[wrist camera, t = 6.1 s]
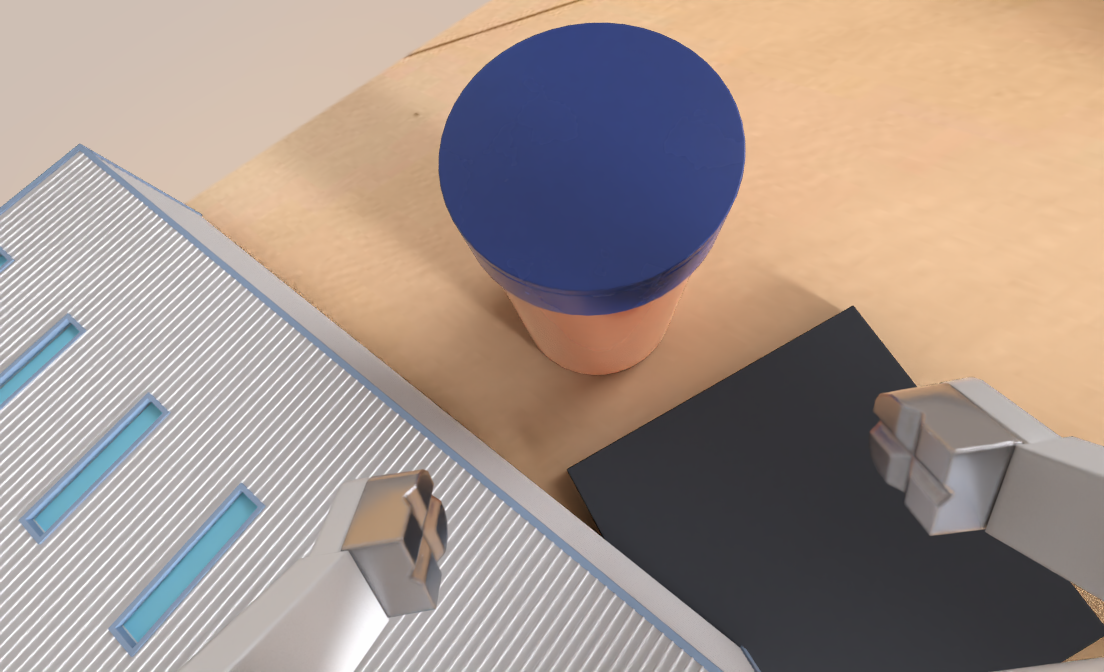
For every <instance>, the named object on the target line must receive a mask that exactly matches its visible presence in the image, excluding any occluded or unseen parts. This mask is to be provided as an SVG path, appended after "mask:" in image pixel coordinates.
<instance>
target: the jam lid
mask: <svg viewBox="0 0 1104 672" xmlns="http://www.w3.org/2000/svg"><path fill="white" fill-rule="evenodd" d="M744 164H745V136H744V130H743V124H742V120H741V117H740V114H739V111H738V108H737V105H736V103H735V101H734V99H733V97H732V95H731V93H730V91H729V89H728V88H727V86H726V85H725V84H724V82H723V81H722V79H721V78H720V76H719V75H718V74H717V73H716V72H715V71H714V70H713V69H712V68H711V67H710V65H709V64H708V63H707V62H706V61H704V60H703V59H702V58H701V57H699V56H698V55H697V54H696V53H695V52H693V51H692V50H690V49H689V48H687V47H685V46H684V45H682V44H681V43H679V42H677V41H675V40H673V39H671V38H669V37H667V36H664V35H662V34H660V33H657V32H654V31H651V30H648V29H644V28H640V27H635V26H630V25H625V24H615V23H584V24H576V25H568V26H564V27H560V28H556V29H551V30H548V31H545V32H543V33H540V34H537V35H534V36H532V37H530V38H527V39H525V40H523V41H521V42H519V43H517V44H515V45H513V46H512V47H510V48H509V49H507V50H505V51H504V52H502V53H501V54H499V55H498V56H497V57H495V58H494V59H493V60H491V61H490V62H489V63H488V64H486V65H485V66H484V67H483V68H482V69H481V70H480V71H479V72H478V73H477V74H476V75H475V76H474V77H473V78H472V80H471V81H470V82H469V83H468V85H467V86H466V87H465V88H464V90H463V91H462V93H461V94H460V96H459V97H458V99H457V101H456V102H455V104H454V106H453V108H452V110H451V112H450V114H449V116H448V119H447V121H446V124H445V128H444V131H443V134H442V138H441V144H440V150H439V178H440V186H441V191H442V194H443V198H444V201H445V205H446V207H447V209H448V211H449V213H450V216H451V218H452V220H453V222H454V223H455V225H456V227H457V228H458V230H459V232H460V233H461V235H462V236H463V238H464V240H465V241H466V243H467V244H468V246H469V248H470V249H471V251H472V252H473V254H474V256H475V257H476V259H477V260H478V262H479V263H480V265H481V266H482V267H483V269H484V270H485V271H486V272H487V273H488V274H489V275H490V276H491V278H492V279H493V280H495V281H496V282H497V283H498V284H499V285H500V286H502V287H503V288H504V289H505V290H507V291H508V292H510V293H511V294H513V295H515V296H516V297H518V298H519V299H521V300H523V301H526V302H528V303H530V304H532V305H534V306H537V307H540V308H543V309H546V310H549V311H552V312H558V313H563V314H569V315H584V316H593V315H607V314H613V313H618V312H623V311H627V310H630V309H633V308H636V307H639V306H642V305H645V304H647V303H649V302H651V301H653V300H655V299H657V298H659V297H662V296H663V295H665V294H666V293H668V292H669V291H671V290H672V289H674V288H675V287H677V286H678V285H679V284H680V283H682V282H683V281H684V280H685V279H686V278H687V277H689V276H690V275H691V274H692V273H693V272H694V270H695V269H696V268H697V267H698V266H699V265H700V264H701V263H702V261H703V260H704V259H705V257H706V256H707V254H708V253H709V251H710V250H711V248H712V246H713V244H714V242H715V240H716V238H717V236H718V234H719V232H720V230H721V228H722V226H723V223H724V221H725V219H726V217H727V215H728V213H729V211H730V209H731V207H732V205H733V202H734V200H735V198H736V196H737V194H738V190H739V187H740V184H741V181H742V177H743V171H744Z"/></svg>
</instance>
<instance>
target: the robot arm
mask: <svg viewBox="0 0 1104 672" xmlns="http://www.w3.org/2000/svg"><path fill="white" fill-rule="evenodd" d="M873 412H874V413H875V415H876V416H877V417H878V418H879V419H880V421H879V422H878V423H877V424H876V425H875V426H874V427H873V428H872V429H871V431H870V434H869V442H868V448H869V452H870V456H871V460H872V462H873V464H874V466H875V468H876V470H877V472H878V473H879V475H880V476H881V477H882V478H883V480H884V481H885V482H886V483H887V484H889V485H891V486H893V487H895V488H897V489H899V490H901V491H903V492H904V500H903V504H904V505H905V507H906V508H907V509H908V510H909V511H910V513H911V514H912V515H913V516H914V517H915V519H916V520H917V521H918V522H919V523H920V525H921V526H922V527H923V528H924V529H925V531H926V532H927V533H928V534H929V535H930V536H933V535H941V534H949V533H958V532H966V531H974V530H982V529H986V530H985V532H986V533H988V534H989V535H991V536H993V537H995V538H996V539H998V540H1000V541H1001V542H1003V543H1005V544H1007V545H1008V546H1010V547H1012V548H1013V549H1015V550H1017V551H1019V552H1020V553H1022V554H1024V555H1025V556H1027V557H1029V558H1030V559H1032V560H1034V561H1036V562H1037V563H1039V564H1041V565H1042V566H1044V567H1046V568H1048V569H1049V570H1051V571H1053V572H1054V573H1056V574H1058V575H1060V576H1061V577H1063V578H1065V579H1066V580H1068V581H1070V582H1072V583H1073V584H1075V585H1077V586H1078V587H1080V588H1082V589H1084V590H1085V591H1087V592H1089V593H1090V594H1092V595H1094V596H1095V597H1097V598H1099V599H1101V600H1102V601H1104V446H1101V445H1098V444H1095V443H1091V442H1088V441H1085V440H1082V439H1079V438H1076V437H1073V436H1072V437H1065V438H1062V437H1060V436H1059V435H1057V434H1056V433H1055V432H1053V431H1052V430H1050V429H1049V428H1048V427H1046V426H1045V425H1044V424H1042V423H1041V422H1039V421H1038V420H1037V419H1035V418H1034V417H1033V416H1031V415H1030V414H1028V413H1027V412H1026V411H1024V410H1023V409H1021V408H1020V407H1019V406H1017V405H1016V404H1015V403H1013V402H1012V401H1010V400H1009V399H1008V398H1006V397H1005V396H1003V395H1002V394H1001V393H999V392H998V391H997V390H995V389H994V388H992V387H991V386H990V385H988V384H987V383H985V382H984V381H983V380H980V379H977V378H974V377H968V378H962V379H957V380H952V381H946V382H941V383H939V384H932V385H926V386H920V387H914V388H908V389H903V390H897V391H891V392H885V393H880V394H879V396H878V397H877V399H876V400H875V404H874V409H873ZM433 487H434V482H433V480H432V478H431V476H430V474H429V472H428V471H427V470H424V469H421V470H414V471H407V472H400V473H393V474H386V475H379V476H372V477H369V478H361V479H354V480H347V481H345V482H344V483H343V484H342V485H341V486H340V487H339V489H338V492H337V494H336V496H335V498H334V501H333V503H332V505H331V507H330V510H329V512H328V514H327V516H326V519H325V521H324V523H323V525H322V528H321V530H320V532H319V534H318V537H317V539H316V541H315V543H314V546H313V548H312V550H311V552H310V555H309V557H303V558H300V559H299V560H298V561H296V562H295V563H294V564H293V565H292V566H291V567H290V568H289V569H288V570H287V571H286V572H284V573H283V574H282V575H281V576H280V577H279V578H278V579H277V580H276V581H275V582H274V583H272V584H271V585H270V586H269V587H268V588H267V589H266V590H265V591H264V592H263V593H262V594H261V595H259V596H258V597H257V598H256V599H255V600H254V601H253V602H252V603H251V604H250V605H249V606H247V607H246V608H245V609H244V610H243V611H242V612H241V613H240V614H239V615H238V616H237V617H235V618H234V619H233V620H232V621H231V622H230V623H229V624H228V625H227V626H226V627H225V628H223V629H222V630H221V631H220V632H219V633H218V634H217V635H216V636H215V637H214V638H213V639H211V640H210V641H209V642H208V643H207V644H206V645H205V646H204V647H203V648H202V649H201V650H199V651H198V652H197V653H196V654H195V655H194V656H193V657H192V658H191V659H190V660H189V661H187V662H186V663H185V664H184V665H183V666H182V667H181V668H180V669H179V670H178V671H177V672H354V670H355V669H356V668H357V666H358V665H359V663H360V662H361V660H362V659H363V657H364V656H365V655H366V653H367V652H368V650H369V649H370V647H371V646H372V645H373V643H374V642H375V640H376V639H377V637H378V636H379V634H380V633H381V632H382V630H383V629H384V627H385V626H386V624H387V623H388V622H389V619H388V618H390V617H396V616H401V615H407V614H413V613H418V612H424V611H429V610H435V609H436V606H437V601H438V595H439V589H440V583H441V578H442V573H441V571H440V568H439V566H438V564H437V562H438V561H439V560H440V558H441V557H442V556H443V555H444V554H445V552H446V548H447V541H448V522H447V517H446V513H445V509H444V506H443V504H442V501H441V500H439V499H438V498H436V497H435V496H433V495H432V491H433ZM994 672H1104V657H1100V658H1092V659H1085V660H1077V661H1070V662H1062V663H1055V664H1047V665H1040V666H1032V667H1025V668H1017V669H1009V670H1002V671H994Z"/></svg>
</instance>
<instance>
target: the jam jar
mask: <svg viewBox="0 0 1104 672" xmlns="http://www.w3.org/2000/svg"><path fill="white" fill-rule="evenodd" d="M689 277H690V276H689ZM689 277H687V278H686V279H685V280H684V281H683V282H682V283H680V284H679V285H678V286H677V287H675V288H674V289H672V290H671V291H669V292H668V293H666V294H665V295H663V296H662V297H659V298H657V299H655V300H653V301H651V302H649V303H647V304H645V305H642V306H639V307H636V308H633V309H630V310H627V311H623V312H618V313H613V314H607V315H593V316H584V315H569V314H563V313H558V312H552V311H549V310H546V309H543V308H540V307H537V306H534V305H532V304H530V303H528V302H526V301H523V300H521V299H519V298H518V297H516V296H515V295H513V294H511V293H510V292H508V291H507V290H505V289H504V288H503V289H504V291H505V292H506V294H507V296H508V297H509V299H510V301H511V303H512V304H513V306H514V308H515V310H516V311H517V313H518V315H519V317H520V318H521V320H522V322H523V324H524V325H525V327H526V329H527V331H528V332H529V334H530V336H531V338H532V339H533V341H534V342H535V344H536V345H537V347H538V348H539V349H540V350H541V351H542V352H543V353H544V354H545V355H546V356H547V357H548V358H549V359H550V360H552V361H553V362H555V363H556V364H558V365H560V366H562V367H564V368H566V369H568V370H571V371H574V372H577V373H582V374H589V375H605V374H611V373H616V372H619V371H623V370H626V369H628V368H630V367H632V366H634V365H636V364H637V363H639V362H640V361H642V360H644V359H645V358H646V357H647V356H648V355H649V354H650V353H652V351H653V350H654V349H655V348H656V347H657V346H658V344H659V343H660V341H661V340H662V338H663V337H664V335H665V332H666V330H667V328H668V326H669V324H670V321H671V319H672V317H673V314H674V312H675V310H676V307H677V305H678V303H679V301H680V298H681V296H682V294H683V291H684V289H685V287H686V284H687V282H688V280H689Z"/></svg>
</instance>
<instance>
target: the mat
mask: <svg viewBox="0 0 1104 672" xmlns="http://www.w3.org/2000/svg"><path fill="white" fill-rule="evenodd" d="M914 387H917V386H916V385H915V384H914V382H913V381H912V380H911V378H910V377H909V376H908V375H907V373H906V372H905V371H904V369H903V368H902V367H901V366H900V364H899V363H898V362H897V361H896V359H895V358H894V357H893V355H892V354H891V353H890V352H889V350H888V349H887V348H886V347H885V345H884V344H883V343H882V341H881V340H880V339H879V338H878V336H877V335H876V334H875V333H874V331H873V330H872V329H871V327H870V326H869V325H868V324H867V322H866V321H865V320H864V318H863V317H862V316H861V315H860V313H859V312H858V311H857V310H856V308H855V307H854V306H851V307H849V308H848V309H846V310H844V311H842V312H841V313H839V314H837V315H835V316H834V317H832V318H830V319H828V320H827V321H825V322H823V323H821V324H820V325H818V326H816V327H814V328H813V329H811V330H809V331H807V332H806V333H804V334H802V335H800V336H799V337H797V338H795V339H793V340H792V341H790V342H788V343H786V344H785V345H783V346H781V347H780V348H778V349H776V350H774V351H773V352H771V353H769V354H767V355H766V356H764V357H762V358H760V359H759V360H757V361H755V362H753V363H752V364H750V365H748V366H746V367H745V368H743V369H741V370H739V371H738V372H736V373H734V374H732V375H731V376H729V377H727V378H725V379H724V380H722V381H720V382H718V383H717V384H715V385H713V386H711V387H710V388H708V389H706V390H704V391H703V392H701V393H699V394H697V395H696V396H694V397H692V398H690V399H689V400H687V401H685V402H683V403H682V404H680V405H678V406H676V407H675V408H673V409H671V410H669V411H668V412H666V413H664V414H662V415H661V416H659V417H657V418H655V419H654V420H652V421H650V422H648V423H647V424H645V425H643V426H642V427H640V428H638V429H636V430H635V431H633V432H631V433H629V434H628V435H626V436H624V437H622V438H621V439H619V440H617V441H615V442H614V443H612V444H610V445H608V446H607V447H605V448H603V449H601V450H600V451H598V452H596V453H594V454H593V455H591V456H589V457H587V458H586V459H584V460H582V461H580V462H579V463H577V464H575V465H573V466H572V467H570V468H568V469H567V471H568V473H569V475H570V477H571V478H572V480H573V482H574V484H575V486H576V488H577V490H578V491H579V493H580V495H581V497H582V499H583V501H584V503H585V504H586V506H587V508H588V510H589V512H590V514H591V516H592V517H593V519H594V521H595V523H596V525H597V527H598V529H599V531H600V532H601V534H602V536H603V538H604V539H605V540H606V541H607V542H608V543H610V544H611V545H612V546H613V547H615V548H616V549H617V550H618V551H620V552H621V553H622V554H623V555H625V556H626V557H627V558H628V559H630V560H631V561H632V562H633V563H635V564H636V565H637V566H638V567H640V568H641V569H642V570H643V571H645V572H646V573H647V574H648V575H650V576H651V577H652V578H653V579H655V580H656V581H657V582H658V583H660V584H661V585H662V586H663V587H665V588H666V589H667V590H668V591H670V592H671V593H672V594H673V595H675V596H676V597H677V598H678V599H680V600H681V601H682V602H683V603H685V604H686V605H687V606H688V607H690V608H691V609H692V610H693V611H695V612H696V613H697V614H698V615H700V616H701V617H702V618H703V619H705V620H706V621H707V622H708V623H710V624H711V625H712V626H713V627H715V628H716V629H717V630H718V631H720V632H721V633H722V634H723V635H725V636H726V637H727V638H728V639H730V640H731V641H732V642H733V643H735V644H736V645H737V646H738V647H740V646H742V647H744V648H745V649H747V651H748V653H749V654H750V656H751V657H752V659H753V660H754V662H755V663H756V665H757V666H758V668H759V670H760V671H761V672H994V671H1002V670H1009V669H1017V668H1025V667H1032V666H1040V665H1047V664H1055V663H1061V662H1063V661H1064V660H1066V659H1068V658H1069V657H1071V656H1073V655H1074V654H1076V653H1078V652H1079V651H1081V650H1082V649H1084V648H1086V647H1087V646H1089V645H1091V644H1092V643H1094V642H1096V641H1097V640H1099V639H1100V638H1102V637H1104V624H1103V623H1102V622H1101V621H1100V619H1099V618H1098V617H1097V616H1096V614H1095V613H1094V612H1093V610H1092V609H1091V608H1090V607H1089V605H1088V604H1087V603H1086V602H1085V600H1084V599H1083V598H1082V596H1081V595H1080V594H1079V593H1078V591H1077V590H1076V589H1075V587H1074V586H1073V585H1072V584H1071V582H1070V581H1068V580H1066V579H1065V578H1063V577H1061V576H1060V575H1058V574H1056V573H1054V572H1053V571H1051V570H1049V569H1048V568H1046V567H1044V566H1042V565H1041V564H1039V563H1037V562H1036V561H1034V560H1032V559H1030V558H1029V557H1027V556H1025V555H1024V554H1022V553H1020V552H1019V551H1017V550H1015V549H1013V548H1012V547H1010V546H1008V545H1007V544H1005V543H1003V542H1001V541H1000V540H998V539H996V538H995V537H993V536H991V535H989V534H988V533H986V532H985V530H986V529H982V530H974V531H966V532H958V533H949V534H941V535H933V536H930V535H929V534H928V533H927V532H926V531H925V529H924V528H923V527H922V526H921V525H920V523H919V522H918V521H917V520H916V519H915V517H914V516H913V515H912V514H911V513H910V511H909V510H908V509H907V508H906V507H905V505H904V504H903V500H904V492H903V491H901V490H899V489H897V488H895V487H893V486H891V485H889V484H887V483H886V482H885V481H884V480H883V478H882V477H881V476H880V475H879V473H878V472H877V470H876V468H875V466H874V464H873V462H872V460H871V456H870V452H869V448H868V442H869V434H870V431H871V429H872V428H873V427H874V426H875V425H876V424H877V423H878V422H879V421H880V419H879V418H878V417H877V416H876V415H875V413H874V412H873V409H874V404H875V400H876V399H877V397H878V396H879V394H880V393H885V392H891V391H897V390H903V389H908V388H914Z"/></svg>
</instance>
